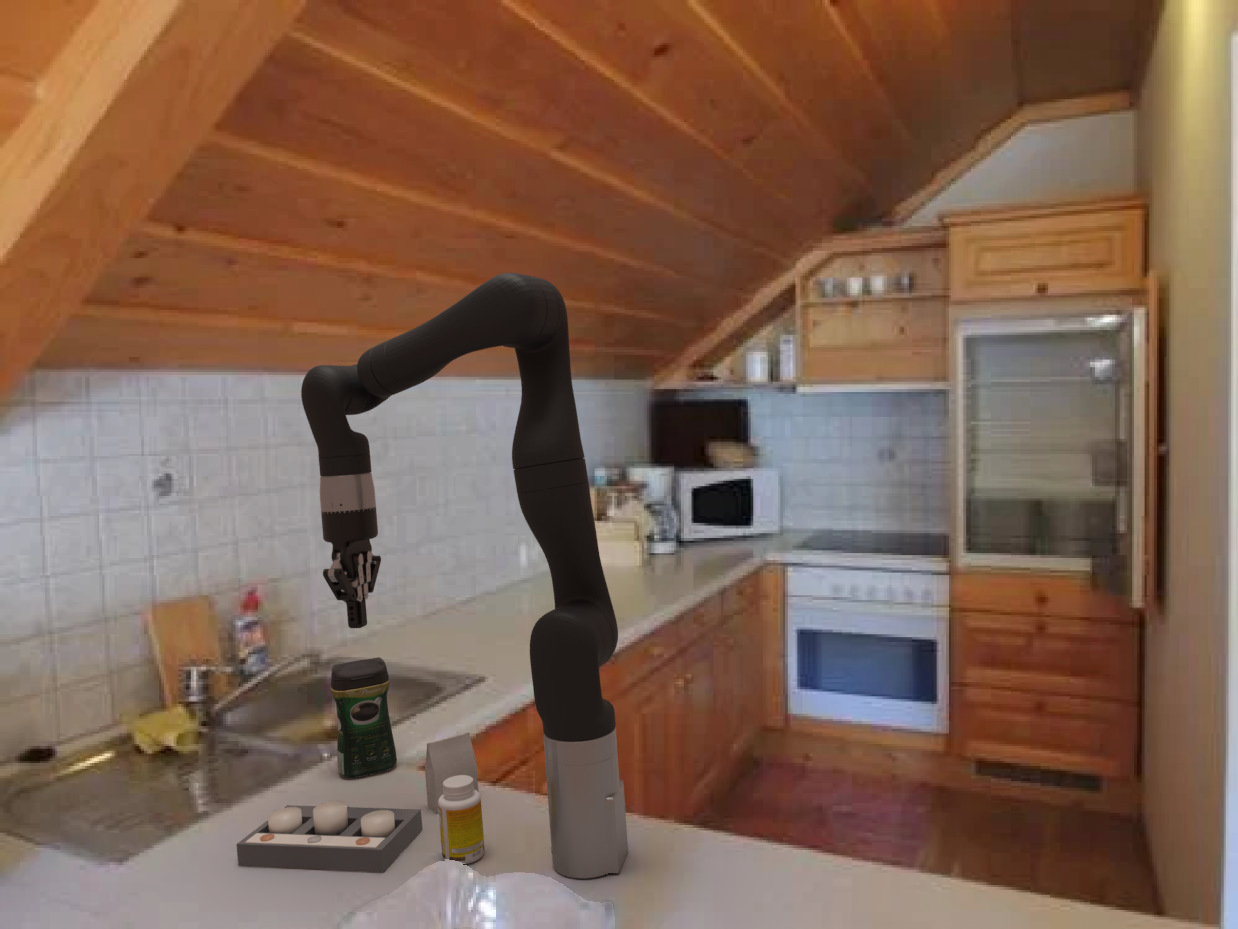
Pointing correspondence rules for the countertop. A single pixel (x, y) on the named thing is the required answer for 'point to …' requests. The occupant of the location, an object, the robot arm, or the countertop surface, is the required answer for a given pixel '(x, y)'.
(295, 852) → the button board
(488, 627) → the countertop surface
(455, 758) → the grey carton box
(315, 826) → the middle button
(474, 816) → the supplement bottle
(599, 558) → the robot arm
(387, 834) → the button
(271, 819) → the button
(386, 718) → the coffee jar
